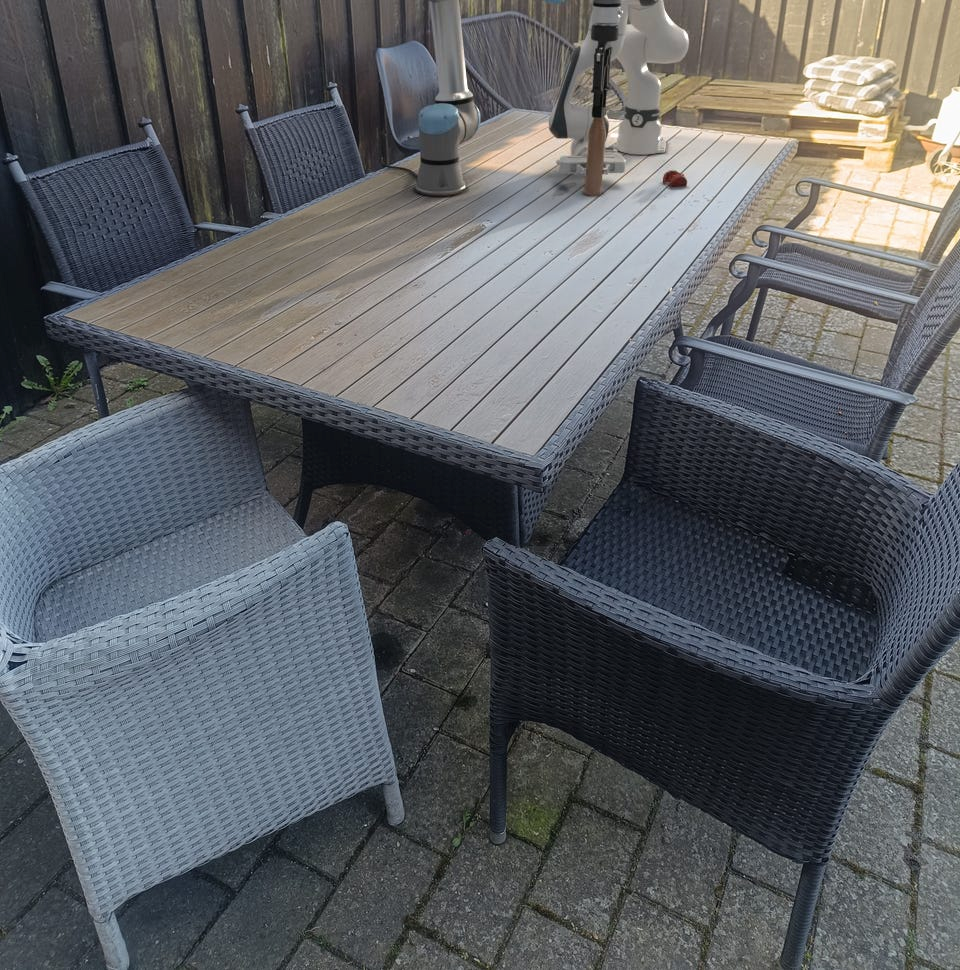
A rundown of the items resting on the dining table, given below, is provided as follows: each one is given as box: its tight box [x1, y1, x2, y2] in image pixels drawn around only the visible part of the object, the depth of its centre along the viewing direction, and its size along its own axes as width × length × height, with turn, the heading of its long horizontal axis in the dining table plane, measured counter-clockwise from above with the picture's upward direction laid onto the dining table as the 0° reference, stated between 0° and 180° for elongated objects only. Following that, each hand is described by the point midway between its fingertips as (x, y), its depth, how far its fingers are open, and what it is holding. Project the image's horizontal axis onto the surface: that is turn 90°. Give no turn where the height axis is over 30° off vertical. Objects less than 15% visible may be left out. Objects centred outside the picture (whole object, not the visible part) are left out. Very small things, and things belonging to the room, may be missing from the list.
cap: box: [591, 105, 607, 117], centre depth 242 cm, size 4×4×2 cm
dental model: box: [662, 169, 688, 188], centre depth 261 cm, size 6×4×8 cm
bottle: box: [583, 116, 607, 197], centre depth 249 cm, size 5×5×24 cm
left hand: (598, 115), depth 243 cm, fingers closed on cap, 4 cm apart
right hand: (594, 171), depth 251 cm, fingers closed on bottle, 5 cm apart
